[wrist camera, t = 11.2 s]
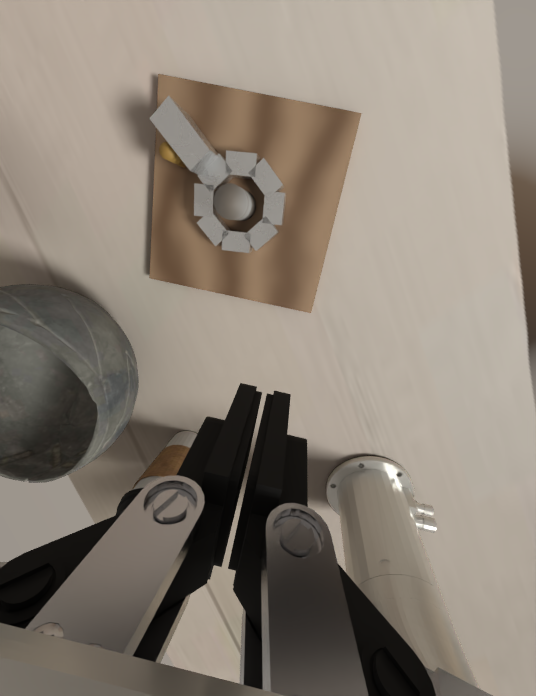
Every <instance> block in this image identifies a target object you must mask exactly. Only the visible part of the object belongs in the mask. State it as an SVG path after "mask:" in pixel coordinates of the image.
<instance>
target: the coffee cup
mask: <svg viewBox="0 0 536 696" xmlns="http://www.w3.org/2000/svg"><path fill="white" fill-rule="evenodd" d="M196 436H197V433H195V432H192V431H182V432H179V433H177V434H175V435H174V437H173V438H172V439H171V440H170V442H169V443H168V444H167V445H166V447H165V448H164V449H163V450H162V452H161V453H160V454H159V455H158V456H157V458H156V459H155V460H154V461H153V463H152V464H151V465H150V466H149V467H148V469H147V470H146V471H145V472H144V474H143V475H142V476H141V477H140V478H139V480H138V481H137V482H136V483H135V485H134V487H133V490H131V491H129V492H128V493H126V494H125V495H124V496H123V498H122V499H121V502H120V503H119V505H118V507H117V513H116V515H118V514H121V513H123V512H124V511H125V509H126V508H127V507H128V506H129V505H130V503H131V502H132V501H133V500H134V499H135V497H136V496H137V495H138V494H139V493H140V491H141V490H142V489H143V488H144V487H146V486H147V485H148V484H149V483H150V482H152V481H154V480H156V479H158V478H161V477H165V476H176V475H177V473H178V471H179V469H180V467H181V465H182V463H183V461H184V459H185V457H186V455H187V453H188V451H189V449H190V448H191V446H192V444H193V442H194V440H195V438H196ZM116 515H115V516H116Z"/></svg>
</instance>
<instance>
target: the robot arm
mask: <svg viewBox="0 0 536 696" xmlns="http://www.w3.org/2000/svg"><path fill="white" fill-rule="evenodd" d="M256 388H257V387H256V386H251V385H247V384H242V383H240V386H239V388H238V390H237V393H236V395H235V398H234V400H233V403H232V405H231V407H230V410H229V412H228V415H227V417H226V419H225V420H221V419H217V418H212V417H206V419H205V421H204V422H203V424H202V426H201V428H200V430H199V432H198V434H197V436H196V438H195V440H194V442H193V444H192V446H191V448H190V449H189V451H188V453H187V455H186V457H185V459H184V461H183V463H182V465H181V467H180V469H179V471H178V473H177V475H176V476H165V477H161V478H158V479H156V480H154V481H152V482H150V483H149V484H148V485H147V486H146V487H144V488H143V489H142V490H141V491H140V493H139V494H138V495H137V496H136V497H135V499H134V500H133V501H132V502H131V503H130V505H129V506H128V507H127V508H126V509H125V511H124V512H123V513H121V514H118V515H116V516H114V517H111V518H109V519H106V520H104V521H101V522H99V523H97V524H94V525H92V526H89V527H87V528H85V529H82V530H80V531H77V532H75V533H72V534H70V535H68V536H65V537H63V538H60V539H58V540H55V541H53V542H51V543H48V544H46V545H43V546H41V547H39V548H36V549H34V550H31V551H29V552H26V553H24V554H22V555H20V556H18V557H16V558H14V559H13V560H11V561H9V562H0V696H492V695H490V694H488V693H486V692H484V691H483V690H481V689H480V687H479V685H478V683H477V680H476V678H475V676H474V674H473V672H472V670H471V667H470V665H469V663H468V660H467V658H466V656H465V653H464V651H463V648H462V646H461V643H460V641H459V638H458V636H457V633H456V631H455V628H454V626H453V623H452V620H451V618H450V615H449V612H448V610H447V607H446V604H445V602H444V599H443V596H442V594H441V591H440V588H439V586H438V583H437V580H436V577H435V575H434V572H433V569H432V567H431V564H430V561H429V558H428V556H427V553H426V550H425V548H424V545H423V542H422V539H421V537H420V534H419V531H418V529H420V530H423V531H427V532H431V533H434V532H435V531H436V521H435V519H434V518H431V517H426V516H422V515H420V516H419V515H415V514H416V513H417V512H418V513H421V514H424V515H428V516H433V514H434V509H433V507H432V506H430V505H426V504H419V503H417V502H416V501H415V500H414V486H413V483H412V481H411V478H410V476H409V475H408V473H407V472H406V471H405V470H404V469H403V468H402V467H401V466H400V465H398V464H397V463H395V462H393V461H391V460H388V459H386V458H381V457H375V456H364V457H358V458H353V459H351V460H348V461H346V462H344V463H342V464H341V465H339V466H338V467H337V468H336V469H335V470H333V472H332V473H331V475H330V476H329V478H328V481H327V486H326V492H327V499H328V502H329V504H330V506H331V507H332V509H333V510H334V511H335V512H336V513H337V514H338V515H339V516H340V523H341V531H342V540H343V548H344V557H345V565H346V572H345V571H344V570H343V569H342V568H341V567H340V566H339V564H338V563H337V559H336V554H335V550H334V546H333V542H332V537H331V534H330V531H329V529H328V526H327V524H326V523H325V522H324V520H323V519H322V517H321V516H320V515H318V514H317V513H316V512H315V511H314V510H312V509H310V508H308V504H307V440H306V439H304V438H299V437H295V436H291V435H287V429H288V417H289V406H290V394H287V393H282V392H278V391H274V394H273V395H271V394H267V396H266V401H265V405H264V410H263V414H262V418H261V423H260V427H259V431H258V436H257V440H256V445H255V449H254V453H253V458H252V462H251V466H250V471H249V475H248V480H247V484H246V489H245V493H244V498H243V502H242V507H241V512H240V516H239V521H238V525H237V530H236V535H235V539H234V544H233V548H232V553H231V557H230V562H229V567H228V569H232V570H236V574H235V579H234V584H233V585H234V588H233V591H234V592H235V594H236V596H237V597H238V599H239V601H240V603H241V604H242V606H243V614H242V632H241V660H240V684H238V683H234V682H230V681H226V680H223V679H219V678H215V677H211V676H207V675H203V674H199V673H196V672H192V671H188V670H184V669H180V668H176V667H172V666H168V665H164V664H161V660H162V658H163V656H164V654H165V652H166V649H167V647H168V645H169V643H170V641H171V639H172V636H173V634H174V632H175V630H176V628H177V625H178V623H179V621H180V619H181V617H182V614H183V612H184V610H185V608H186V606H187V604H188V600H189V597H190V594H191V593H192V592H194V591H196V590H197V589H199V588H200V587H202V586H203V585H205V584H206V583H207V580H208V579H210V577H211V573H212V569H213V566H214V565H216V566H220V567H221V566H222V563H223V559H224V555H225V551H226V547H227V543H228V538H229V534H230V530H231V526H232V522H233V518H234V514H235V510H236V506H237V502H238V498H239V494H240V490H241V486H242V482H243V478H244V474H245V469H246V465H247V461H248V457H249V452H250V447H251V442H252V438H253V433H254V428H255V423H256V419H257V414H258V409H259V405H260V400H261V395H262V392H258V391H256ZM417 528H418V529H417Z"/></svg>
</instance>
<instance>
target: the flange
mask: <svg viewBox="0 0 536 696" xmlns="http://www.w3.org/2000/svg"><path fill="white" fill-rule="evenodd" d="M149 119H150V120H151V121H152V123H153V124H154V125H155V127H156V128H157V129H158V130H159V132H160V133H161V134H162V136H163V137H164V138H165V139H166V141H167V142H168V143H169V144H170V146H171V147H172V148H173V150H174V151H175V152H176V153H177V155H178V156H179V157H180V159H181V160H182V161H183V162H184V164H185V165H186V166H187V168H188V169H189V170H190V171H192V172H194V173H196V174H198V177H199V179H200V180H201V181H202V183H203V184H197V183H194V216H203V217H202V218H201V219H200V220H199V221H198V222H197V224H198V225H199V227H200V228H201V229H202V230H203V232H204V233H205V234H206V235H207V237H208V238H209V239H210V240H211V241H212V243H213V244H214V245H215V246H219V245H221V244H222V250H227V251H235V252H244V253H251V252H252V248H254V249H255V251H257V250H259V249H260V248H261V247H262V246H263V245H265V244H266V243H267V242H268V241H269V240H270V239H272V238H273V237H274V236H275V235H276V234H277V233H279V231H278V229H277V228H276V227H275V225H283V219H284V210H285V201H286V193H282V192H279V191H280V190H282V189H283V188H284V185H283V184H282V182H281V181H280V180H279V178H278V177H277V175H276V174H275V173H274V171H273V170H272V168H271V167H270V166H269V164H268V163H267V161H266V160H265V159H264V158H263V159H262V160H261V161H260V157H259V156H258V154H257V153H247V152H237V151H227V150H226V159H225V158H224V157H223V156H222V155H221V154H218V153H217V152H216V150H215V149H214V148H213V146H212V145H211V144H210V142H209V141H208V139H207V138H206V137H205V135H204V134H203V133H202V131H201V130H200V129H199V127H198V126H197V125H196V123H195V122H194V121H193V119H192V118H191V117H190V115H189V114H188V113H187V112H186V111H184V110H183V109H182V108H181V107H180V106H179V105H178V104H177V103H176V102H175V101H174V100H173V99H172V98H171V97H170V96H168V97H167V98H166V99H165V100H164V102H163V103H162V104H161V105H160V106H159V108H158V109H157V110H156V111H155V112H154V114H153V115H152V116H151V117H150V118H149ZM259 161H260V162H259ZM233 177H236V178H245V179H253V180H254V182H255V183H256V184H257V186H258V187H259V188H260V190H261V191H262V192H263V194H264V195H265V197H264V208H263V219H262V220H261V221H259V222H258V223H257V224H256V225H255V226H254V227H253V228H252V229H250V230H249V231H248V232H242V231H233V230H230V229H229V227H228V226H227V225H226V224H225V222H224V221H223V220H222V218H221V217H220V216H219V215H218V212H217V211H216V209H215V206H214V196H215V193H216V191H217V190H218V188H219V187H220V186H222V185H224V184H227V183H228V182H229V181H230V180H231V179H232V178H233Z"/></svg>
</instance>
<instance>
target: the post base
mask: <svg viewBox="0 0 536 696" xmlns="http://www.w3.org/2000/svg"><path fill="white" fill-rule="evenodd" d="M168 96H170V97H171V98H172V99H173V100H174V101H175V102H176V103H177V104H178V105H179V106H180V107H181V108H182V109H183V110H184V111H186V112H187V113H188V114H189V115H190V117H191V118H192V119H193V121H194V122H195V123H196V125H197V126H198V127H199V129H200V130H201V131H202V133H203V134H204V135H205V137H206V138H207V139H208V141H209V142H210V144H211V145H212V146H213V148H214V149H215V150H216V152H217V153H218V154H221V155H222V156H223V157H224V158H225V159H226V150H227V151H237V152H247V153H257V154H258V156H259V157H260V161H261V160H262V159H263V158H264V159H265V160H266V161H267V163H268V164H269V166H270V167H271V168H272V170H273V171H274V173H275V174H276V175H277V177H278V178H279V180H280V181H281V182H282V184H283V185H284V188H283V189H282V190H280V191H279V192H282V193H286V201H285V210H284V219H283V225H275V227H276V228H277V229H278V231H279V233H277V234H276V235H275V236H274V237H273V238H272V239H270V240H269V241H268V242H267V243H266V244H265V245H263V246H262V247H261V248H260V249H259V250H257V251H255V249H254V248H252V252H251V253H244V252H235V251H227V250H222V244H221V245H219V246H215V245H214V244H213V243H212V241H211V240H210V239H209V238H208V237H207V235H206V234H205V233H204V232H203V230H202V229H201V228H200V227H199V225H198V224H197V222H198V221H199V220H200V219H201V218H202V217H203V216H194V183H197V184H203V183H202V181H201V180H200V179H199V177H198V174H196V173H194V172H192V171H190V170H189V169H188V168H187V166H186V165H185V164H184V162H183V161H182V160H181V159H180V157H179V156H178V155H177V153H176V152H175V151H174V150H173V148H172V147H171V146H170V144H169V143H168V142H167V141H166V139H165V138H164V137H163V136H162V134H161V133H160V132H159V130H158V129H157V128H156V141H155V164H154V187H153V209H152V232H151V255H150V278H151V279H156V280H161V281H165V282H170V283H174V284H179V285H184V286H188V287H193V288H198V289H202V290H207V291H211V292H216V293H221V294H225V295H230V296H235V297H239V298H244V299H248V300H253V301H258V302H262V303H267V304H272V305H276V306H281V307H285V308H290V309H295V310H299V311H304V312H309V313H311V311H312V307H313V303H314V299H315V295H316V291H317V287H318V283H319V279H320V275H321V271H322V267H323V263H324V259H325V255H326V251H327V248H328V244H329V240H330V236H331V232H332V228H333V224H334V220H335V216H336V212H337V208H338V204H339V200H340V196H341V192H342V188H343V184H344V180H345V176H346V172H347V168H348V164H349V160H350V156H351V153H352V149H353V145H354V141H355V137H356V133H357V129H358V125H359V121H360V117H361V113H357V112H352V111H347V110H342V109H337V108H331V107H326V106H321V105H316V104H311V103H306V102H300V101H295V100H290V99H285V98H280V97H275V96H269V95H264V94H259V93H254V92H249V91H244V90H238V89H233V88H228V87H223V86H218V85H213V84H207V83H202V82H197V81H192V80H187V79H182V78H176V77H171V76H166V75H161V74H158V95H157V109H158V108H159V106H160V105H161V104H162V103H163V102H164V100H165V99H166V98H167V97H168ZM260 161H259V162H260ZM264 197H265V195H264V194H263V192H262V191H261V190H260V188H259V187H258V186H257V184H256V183H255V182H254V180H253V179H245V178H236V177H233V178H232V179H231V180H230V181H229V182H228V183H227V184H224V185H222V186H220V187H219V188H218V190H217V191H216V193H215V196H214V206H215V209H216V211H217V212H218V215H219V216H220V217H221V218H222V220H223V221H224V222H225V224H226V225H227V226H228V227H229V229H230V230H233V231H242V232H248V231H249V230H250V229H252V228H253V227H254V226H255V225H256V224H257V223H258V222H259V221H261V220H262V219H263V208H264Z"/></svg>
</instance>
